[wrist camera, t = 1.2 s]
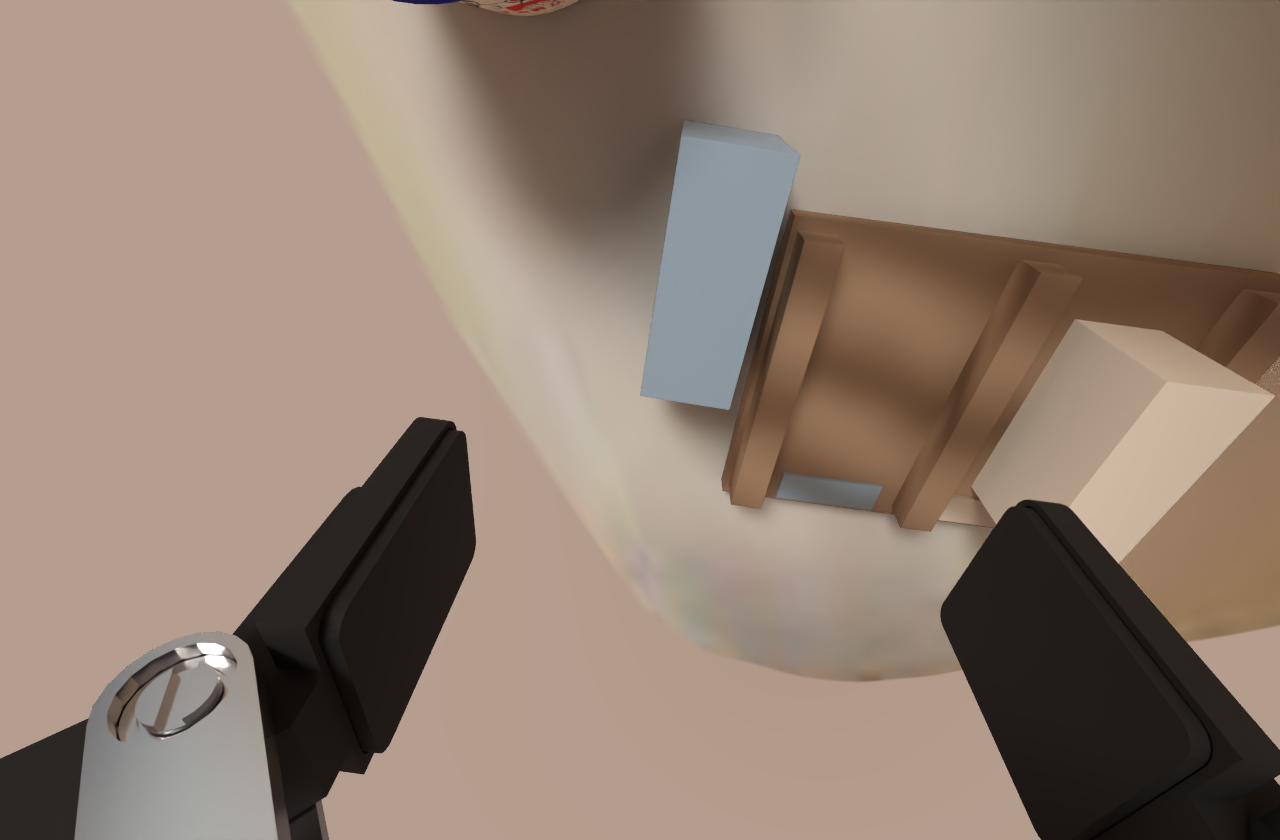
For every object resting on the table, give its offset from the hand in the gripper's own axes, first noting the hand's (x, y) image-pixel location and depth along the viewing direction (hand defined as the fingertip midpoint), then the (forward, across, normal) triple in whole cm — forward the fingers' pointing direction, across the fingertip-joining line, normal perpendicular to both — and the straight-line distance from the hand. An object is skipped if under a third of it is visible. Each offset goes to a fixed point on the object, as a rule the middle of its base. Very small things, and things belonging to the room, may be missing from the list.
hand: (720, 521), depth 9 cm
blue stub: (+16, 0, 0) cm, 16 cm away
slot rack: (+15, -12, +4) cm, 20 cm away
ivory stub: (+14, -17, +4) cm, 23 cm away
